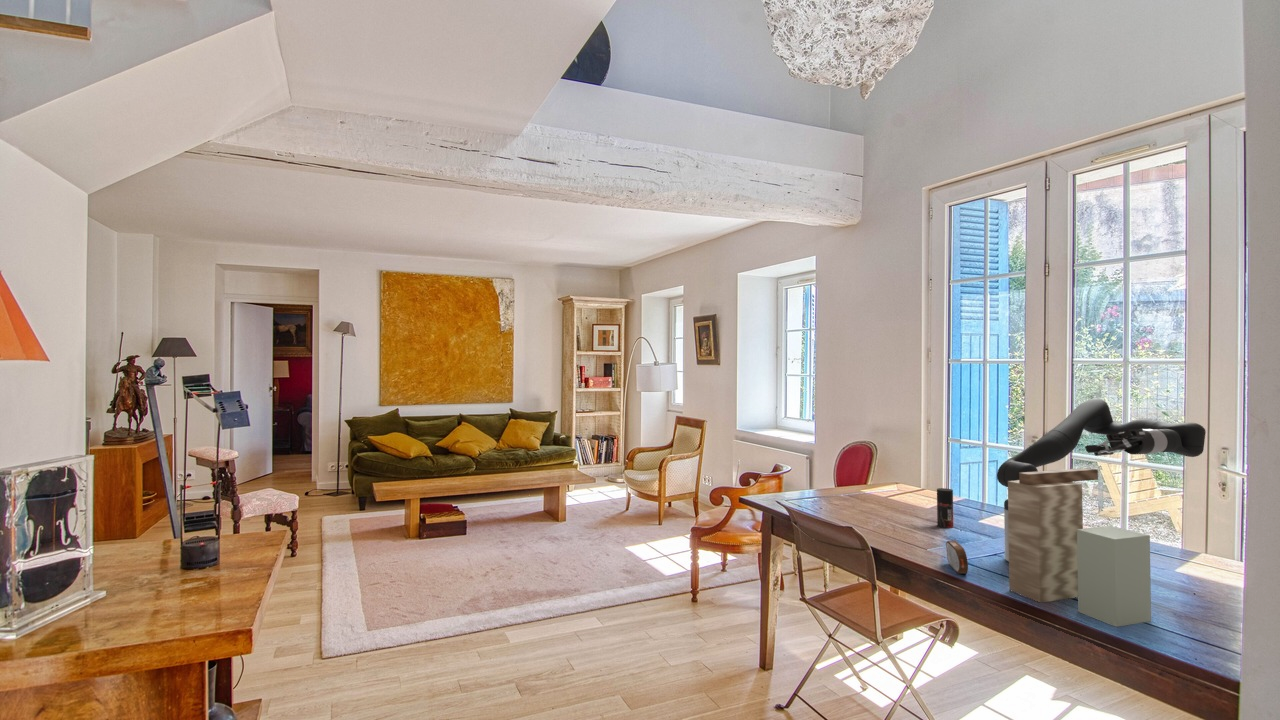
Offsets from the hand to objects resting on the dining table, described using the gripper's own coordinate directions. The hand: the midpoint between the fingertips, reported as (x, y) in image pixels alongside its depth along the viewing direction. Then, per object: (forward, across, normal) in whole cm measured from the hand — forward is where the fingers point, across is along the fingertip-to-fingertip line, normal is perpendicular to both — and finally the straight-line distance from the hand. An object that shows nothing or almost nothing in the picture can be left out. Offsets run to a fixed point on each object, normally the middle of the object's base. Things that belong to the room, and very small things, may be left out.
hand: (1097, 443), depth 186 cm
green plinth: (+17, -3, +47) cm, 50 cm away
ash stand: (+22, -18, +38) cm, 47 cm away
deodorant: (+2, -82, +2) cm, 82 cm away
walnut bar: (+16, -3, +10) cm, 19 cm away
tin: (+33, -39, +26) cm, 57 cm away
